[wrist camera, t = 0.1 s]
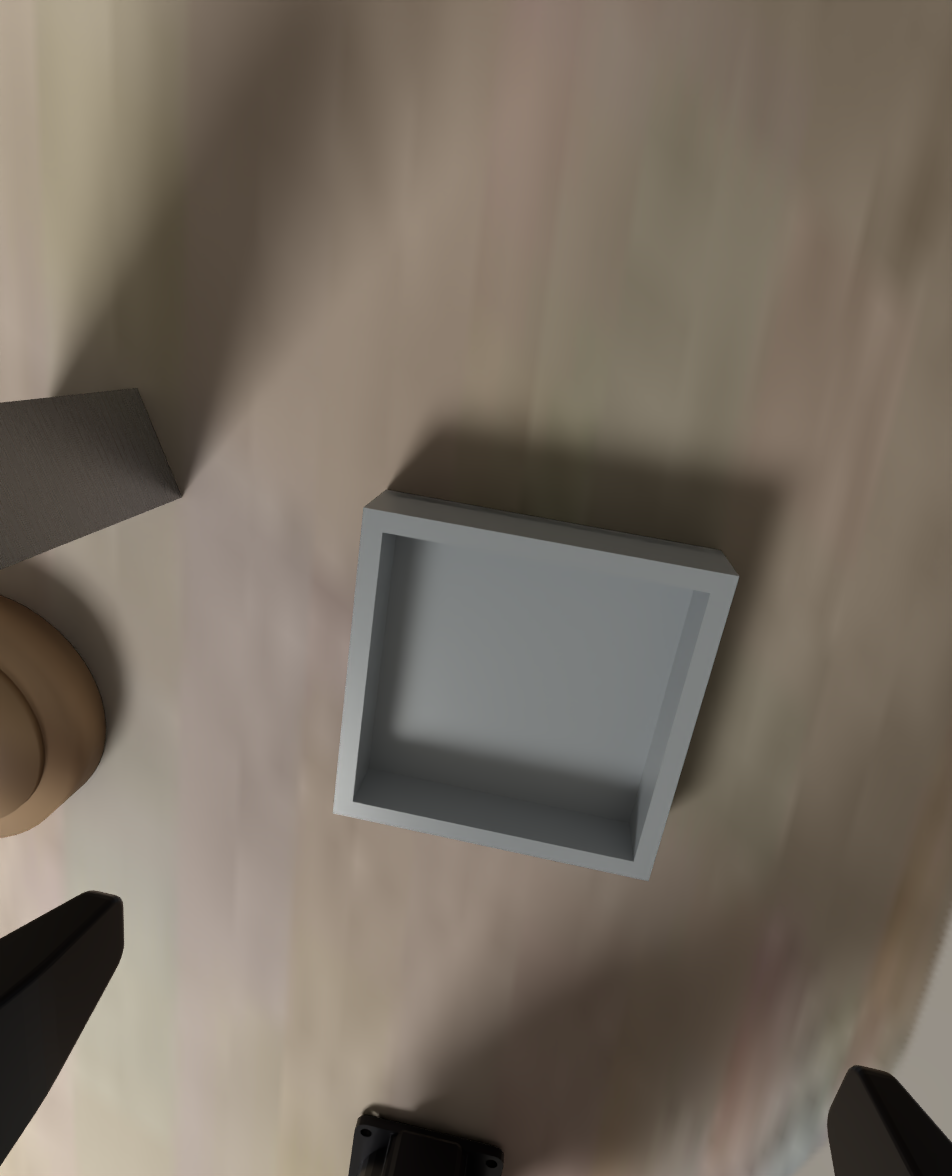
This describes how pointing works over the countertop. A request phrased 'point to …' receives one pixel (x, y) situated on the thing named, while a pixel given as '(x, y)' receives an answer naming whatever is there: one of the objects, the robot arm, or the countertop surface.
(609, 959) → the countertop surface
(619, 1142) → the countertop surface
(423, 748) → the tray
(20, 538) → the pin
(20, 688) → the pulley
